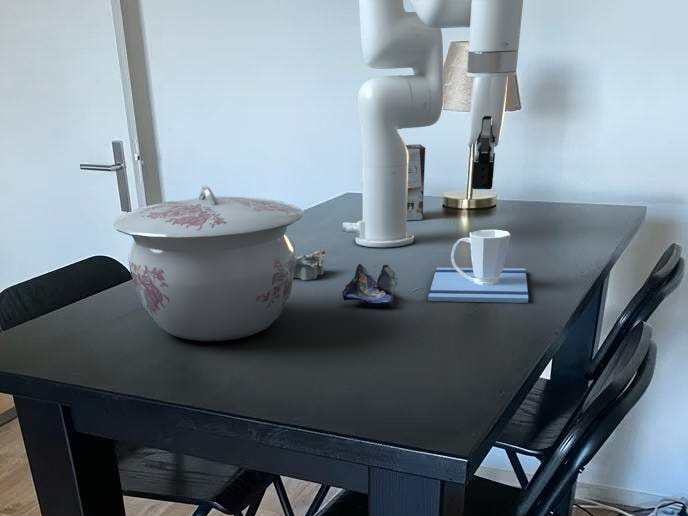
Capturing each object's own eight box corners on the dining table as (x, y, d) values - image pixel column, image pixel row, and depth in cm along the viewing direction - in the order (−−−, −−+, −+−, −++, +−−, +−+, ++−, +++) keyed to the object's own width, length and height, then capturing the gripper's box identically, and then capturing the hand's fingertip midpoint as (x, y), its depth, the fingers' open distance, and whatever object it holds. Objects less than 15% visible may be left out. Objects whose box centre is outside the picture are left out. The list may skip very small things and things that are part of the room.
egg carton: (328, 272, 151) (328, 250, 149) (310, 282, 145) (310, 259, 143) (279, 268, 155) (278, 246, 153) (260, 277, 149) (258, 255, 147)
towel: (428, 301, 131) (428, 295, 131) (436, 271, 148) (436, 266, 148) (527, 303, 128) (528, 297, 127) (524, 272, 145) (525, 267, 144)
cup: (500, 288, 133) (504, 238, 129) (443, 283, 137) (445, 235, 133) (511, 278, 138) (516, 230, 134) (456, 274, 143) (459, 227, 139)
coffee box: (423, 220, 192) (426, 147, 184) (397, 221, 193) (398, 148, 184) (419, 213, 200) (421, 143, 192) (393, 214, 200) (395, 144, 192)
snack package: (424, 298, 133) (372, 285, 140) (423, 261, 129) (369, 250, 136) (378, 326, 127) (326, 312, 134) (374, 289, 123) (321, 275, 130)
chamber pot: (239, 370, 106) (225, 206, 96) (91, 342, 119) (65, 195, 109) (342, 314, 126) (340, 175, 116) (206, 296, 139) (193, 168, 129)
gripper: (469, 63, 130) (462, 175, 139) (464, 68, 116) (456, 193, 125) (516, 62, 129) (505, 175, 138) (517, 67, 114) (505, 193, 123)
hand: (482, 183), depth 131 cm, fingers open, 9 cm apart
